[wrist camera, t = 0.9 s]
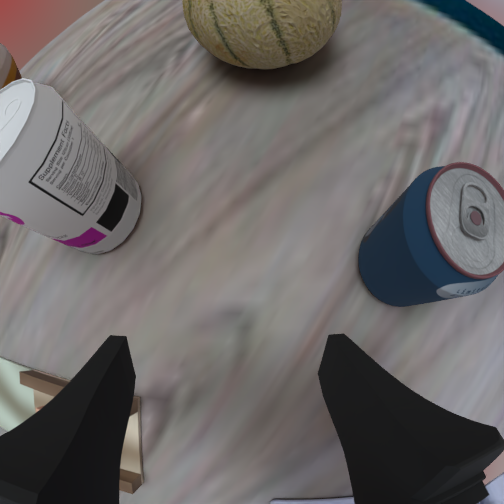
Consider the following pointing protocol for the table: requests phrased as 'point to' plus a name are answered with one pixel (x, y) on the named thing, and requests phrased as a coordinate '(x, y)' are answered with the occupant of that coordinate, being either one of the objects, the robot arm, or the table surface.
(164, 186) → the table surface
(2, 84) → the jug
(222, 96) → the table surface
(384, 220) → the soda can
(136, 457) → the chute
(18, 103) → the supplement can
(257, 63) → the cantaloupe
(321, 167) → the table surface
